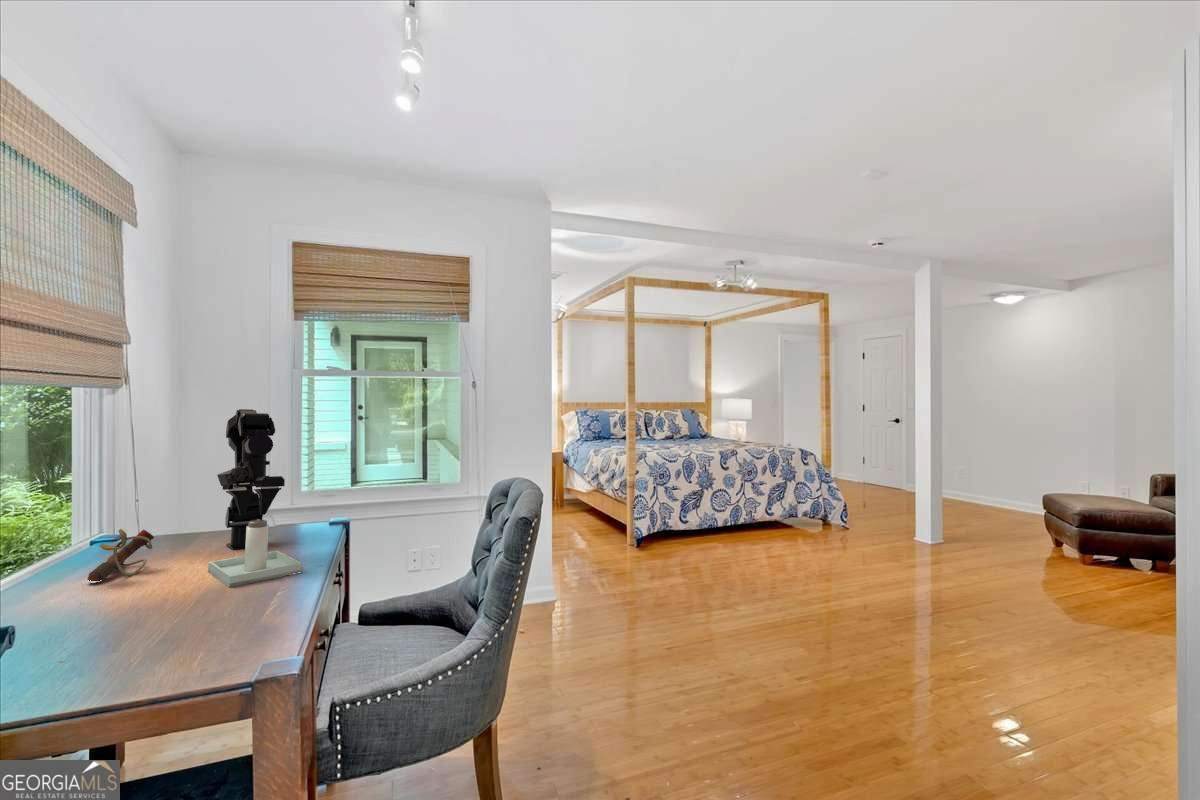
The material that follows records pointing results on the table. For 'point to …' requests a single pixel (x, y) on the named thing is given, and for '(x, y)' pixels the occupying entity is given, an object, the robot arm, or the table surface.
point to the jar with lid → (256, 546)
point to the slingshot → (121, 555)
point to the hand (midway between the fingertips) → (252, 515)
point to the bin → (235, 575)
